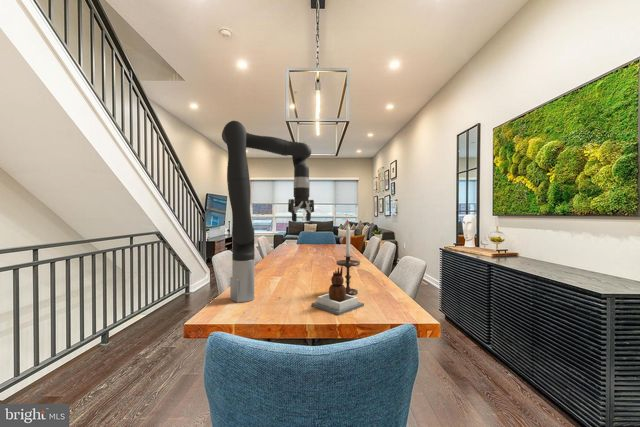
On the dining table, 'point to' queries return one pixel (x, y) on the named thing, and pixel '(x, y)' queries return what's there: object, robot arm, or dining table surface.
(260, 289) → the dining table surface
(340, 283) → the wooden figurine
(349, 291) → the candlestick
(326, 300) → the plate
